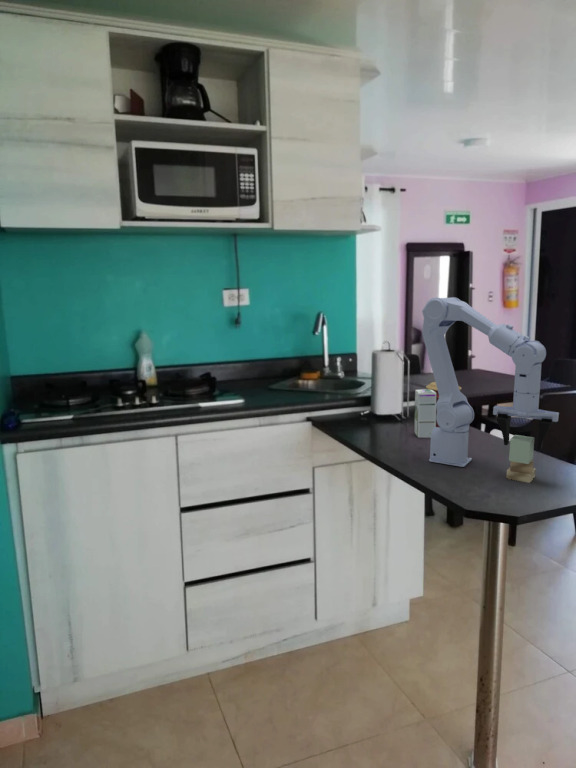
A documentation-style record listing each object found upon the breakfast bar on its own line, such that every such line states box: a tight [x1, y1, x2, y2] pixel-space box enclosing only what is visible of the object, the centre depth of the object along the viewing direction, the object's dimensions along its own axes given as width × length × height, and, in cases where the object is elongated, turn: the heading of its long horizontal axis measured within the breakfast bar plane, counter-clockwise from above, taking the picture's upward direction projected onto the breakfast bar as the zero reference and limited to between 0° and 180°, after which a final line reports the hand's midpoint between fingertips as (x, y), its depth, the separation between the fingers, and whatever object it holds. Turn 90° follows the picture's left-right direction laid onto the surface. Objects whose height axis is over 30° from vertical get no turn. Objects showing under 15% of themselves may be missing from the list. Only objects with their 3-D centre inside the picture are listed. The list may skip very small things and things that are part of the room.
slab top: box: [509, 458, 534, 474], centre depth 138 cm, size 5×5×2 cm
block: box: [508, 434, 535, 464], centre depth 137 cm, size 4×4×6 cm
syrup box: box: [413, 388, 436, 439], centre depth 177 cm, size 6×6×14 cm
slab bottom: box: [506, 467, 536, 484], centre depth 139 cm, size 6×6×2 cm
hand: (522, 446), depth 137 cm, fingers open, 7 cm apart
